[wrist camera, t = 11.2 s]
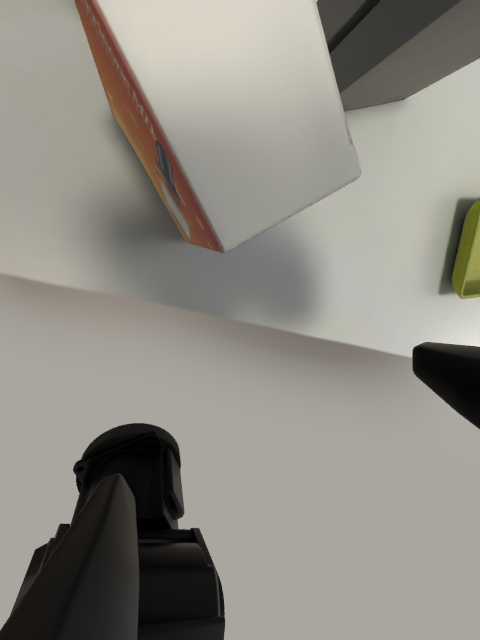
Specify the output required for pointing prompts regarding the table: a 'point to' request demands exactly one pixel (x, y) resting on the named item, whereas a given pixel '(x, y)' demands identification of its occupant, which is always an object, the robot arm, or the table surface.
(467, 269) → the green square tray
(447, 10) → the grey grooved block
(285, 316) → the table surface
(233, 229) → the small box
